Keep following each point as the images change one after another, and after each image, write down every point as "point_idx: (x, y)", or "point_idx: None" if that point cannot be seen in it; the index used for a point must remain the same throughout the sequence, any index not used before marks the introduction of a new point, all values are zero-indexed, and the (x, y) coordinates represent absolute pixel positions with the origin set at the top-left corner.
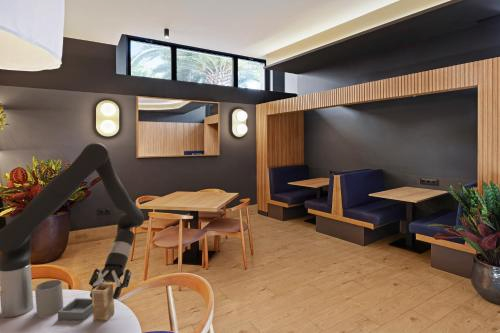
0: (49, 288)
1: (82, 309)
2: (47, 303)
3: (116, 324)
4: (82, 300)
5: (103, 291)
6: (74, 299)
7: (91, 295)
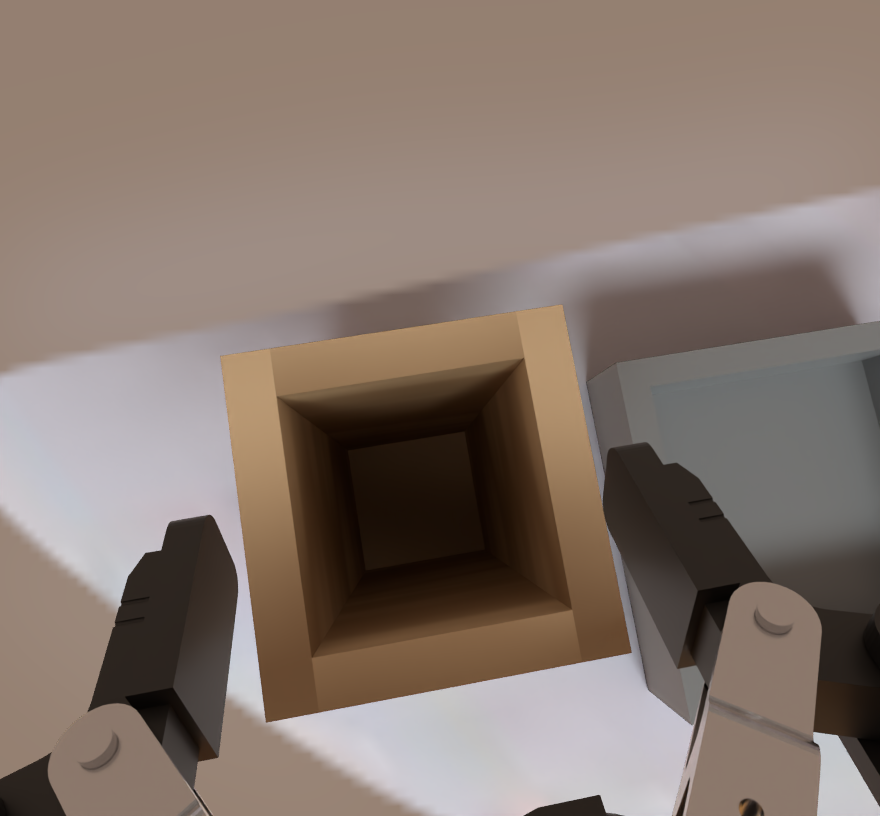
0: None
1: (775, 548)
2: None
3: (173, 407)
4: None
5: (265, 353)
6: None
7: (636, 451)
